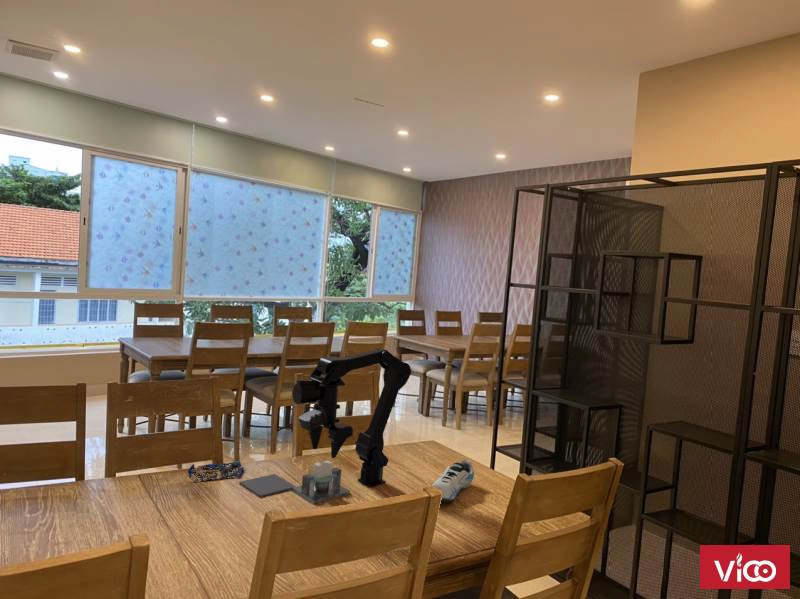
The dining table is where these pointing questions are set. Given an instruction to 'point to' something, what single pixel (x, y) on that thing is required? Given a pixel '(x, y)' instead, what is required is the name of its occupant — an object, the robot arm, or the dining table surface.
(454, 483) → the running shoe
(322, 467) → the cap
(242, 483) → the mat
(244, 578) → the dining table surface
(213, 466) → the dark blue patterned slab
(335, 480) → the grey plate with upright
